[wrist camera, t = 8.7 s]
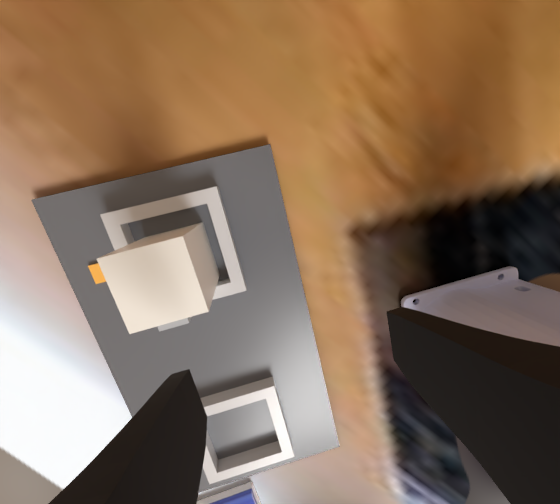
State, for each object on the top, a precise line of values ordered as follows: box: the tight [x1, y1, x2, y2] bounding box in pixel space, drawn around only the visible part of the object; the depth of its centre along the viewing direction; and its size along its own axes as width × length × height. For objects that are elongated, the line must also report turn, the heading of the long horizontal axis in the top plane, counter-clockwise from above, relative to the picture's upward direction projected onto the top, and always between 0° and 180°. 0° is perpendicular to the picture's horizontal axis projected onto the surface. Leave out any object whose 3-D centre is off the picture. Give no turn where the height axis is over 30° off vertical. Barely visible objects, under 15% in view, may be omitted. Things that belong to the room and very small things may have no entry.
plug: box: [97, 222, 220, 334], centre depth 14 cm, size 4×4×6 cm
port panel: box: [32, 144, 340, 493], centre depth 18 cm, size 14×24×2 cm, turn 13°
